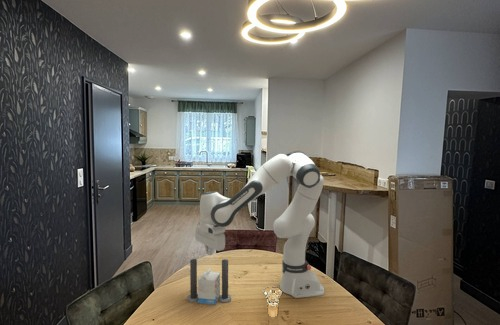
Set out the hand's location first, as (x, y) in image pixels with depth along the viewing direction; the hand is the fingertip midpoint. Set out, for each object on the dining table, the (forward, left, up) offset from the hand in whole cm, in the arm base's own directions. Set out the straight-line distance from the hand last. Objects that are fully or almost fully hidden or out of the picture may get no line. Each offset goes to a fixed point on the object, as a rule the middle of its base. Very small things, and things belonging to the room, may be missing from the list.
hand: (209, 254), depth 129 cm
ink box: (0, 0, -22) cm, 22 cm away
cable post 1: (+7, 0, -22) cm, 23 cm away
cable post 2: (-8, 0, -22) cm, 23 cm away
